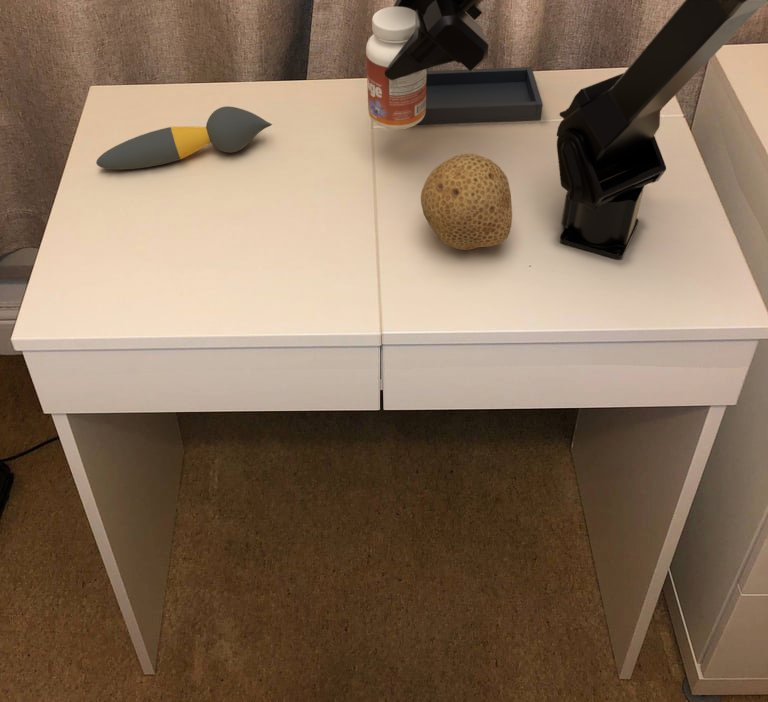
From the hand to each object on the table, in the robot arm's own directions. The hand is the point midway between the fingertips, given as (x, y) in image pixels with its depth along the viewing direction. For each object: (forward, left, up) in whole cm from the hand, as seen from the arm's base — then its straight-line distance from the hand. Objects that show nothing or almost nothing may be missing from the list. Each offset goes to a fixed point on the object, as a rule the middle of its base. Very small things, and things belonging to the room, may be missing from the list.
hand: (383, 60), depth 89 cm
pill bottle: (-1, -1, -7) cm, 7 cm away
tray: (-4, -15, -12) cm, 20 cm away
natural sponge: (-13, +9, -13) cm, 20 cm away
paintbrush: (+21, +9, -13) cm, 26 cm away
